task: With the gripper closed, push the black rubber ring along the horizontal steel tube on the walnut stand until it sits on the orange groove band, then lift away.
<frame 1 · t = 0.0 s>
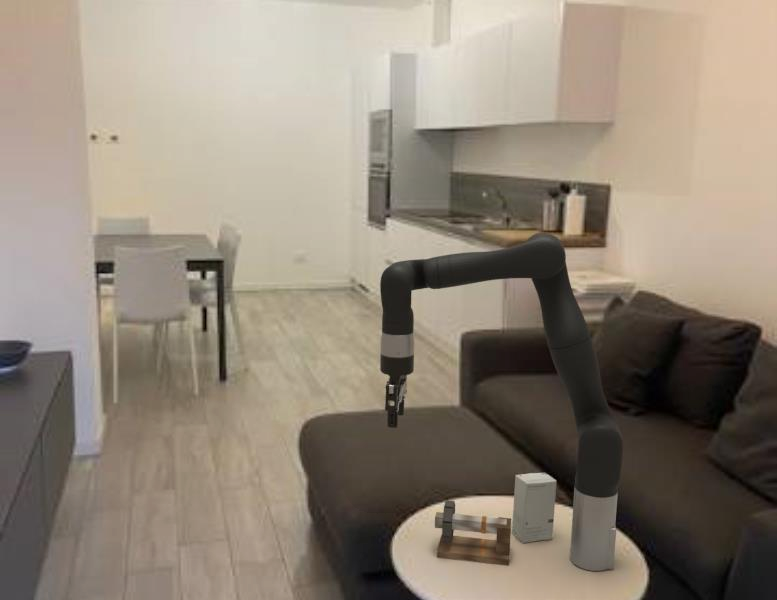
hand: (395, 420, 176), 29 cm above the table, fingers open, 8 cm apart
skincare box: (532, 536, 184), on the table
o ring: (448, 521, 176), point 7 cm above the table, slide at 8.0 cm
pipe stand: (473, 552, 176), on the table
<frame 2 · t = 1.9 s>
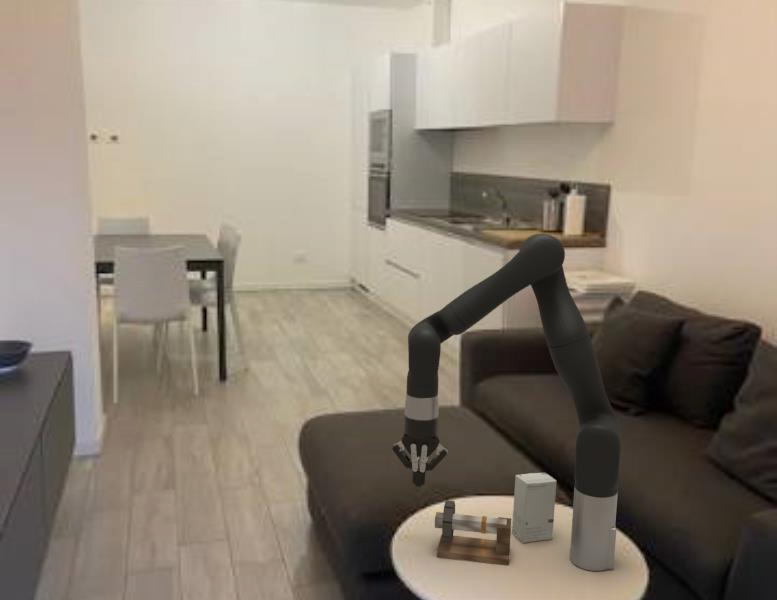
hand: (418, 485, 176), 15 cm above the table, fingers closed
nothing on the table moved.
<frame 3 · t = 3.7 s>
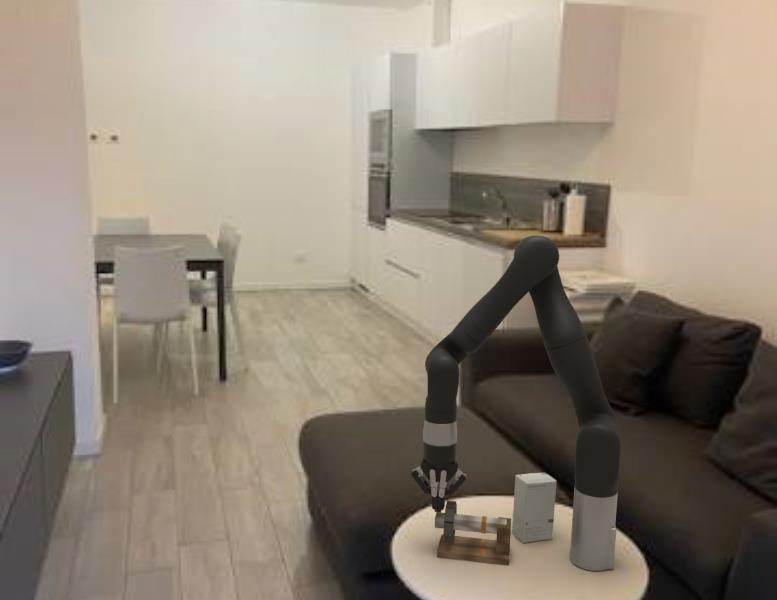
hand: (437, 510, 176), 9 cm above the table, fingers closed
o ring: (450, 521, 176), point 7 cm above the table, slide at 7.6 cm, touching gripper
everything else where it was.
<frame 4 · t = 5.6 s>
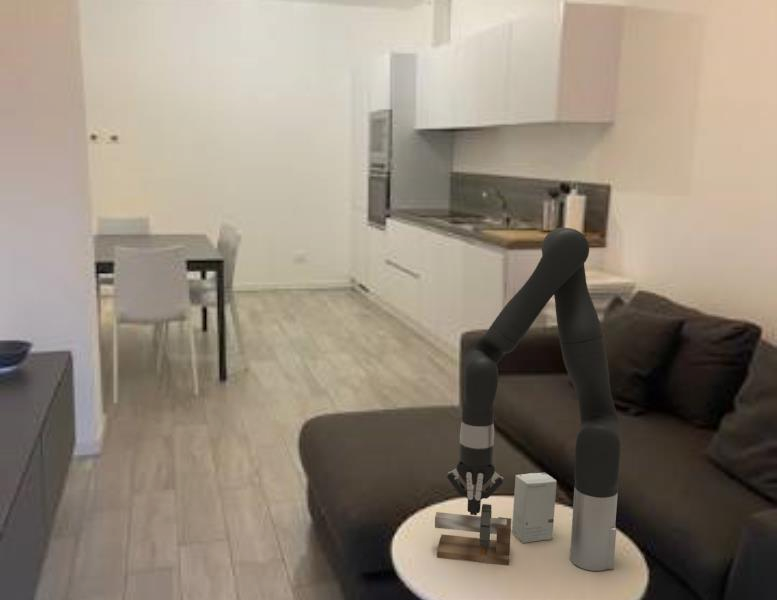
hand: (473, 513, 174), 9 cm above the table, fingers closed
o ring: (485, 525, 174), point 7 cm above the table, slide at -0.4 cm, touching gripper
everything else where it was.
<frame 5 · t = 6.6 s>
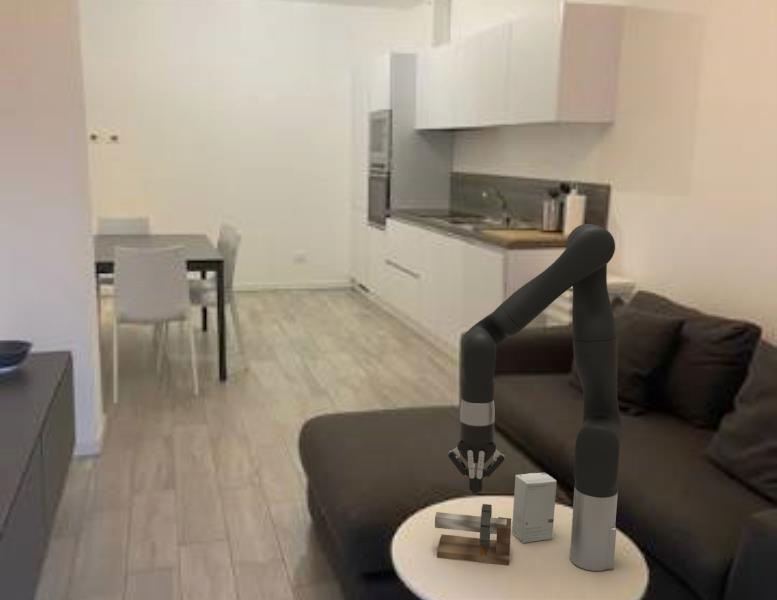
hand: (475, 492, 173), 15 cm above the table, fingers closed
o ring: (485, 525, 174), point 7 cm above the table, slide at -0.4 cm
everything else where it was.
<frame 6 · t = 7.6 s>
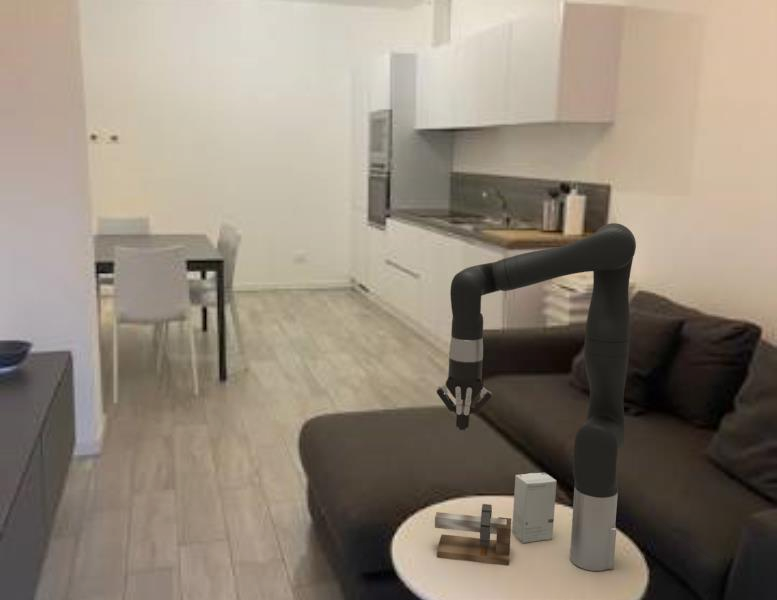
hand: (462, 428, 177), 27 cm above the table, fingers closed
nothing on the table moved.
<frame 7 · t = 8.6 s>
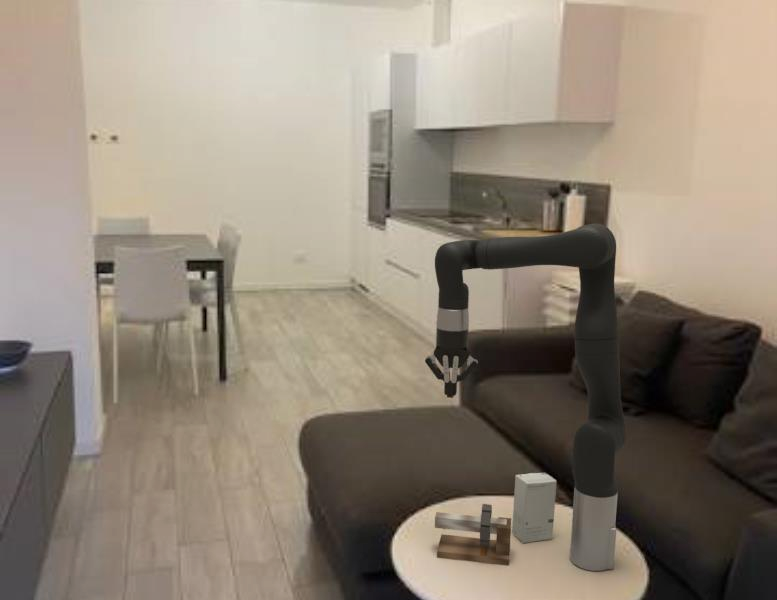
hand: (450, 396, 185), 32 cm above the table, fingers closed
nothing on the table moved.
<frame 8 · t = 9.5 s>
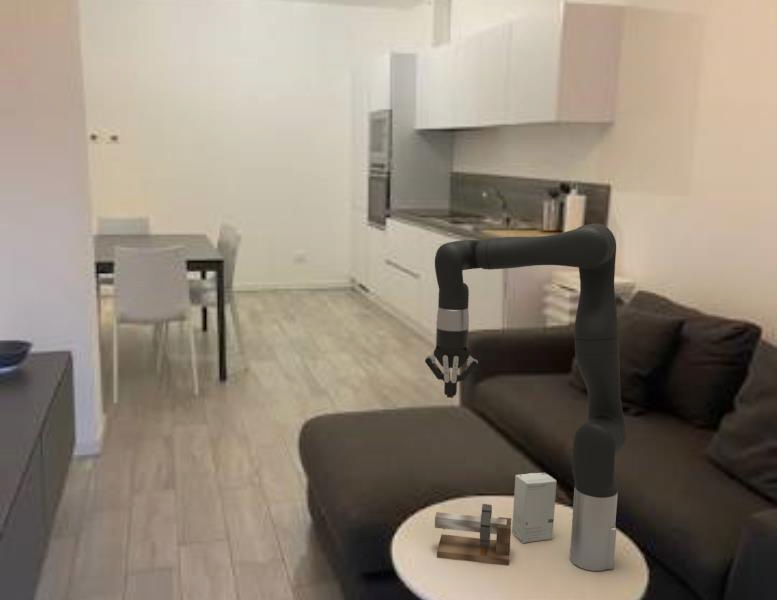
hand: (450, 396, 185), 32 cm above the table, fingers closed
nothing on the table moved.
at the end: o ring slide at -0.4 cm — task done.
